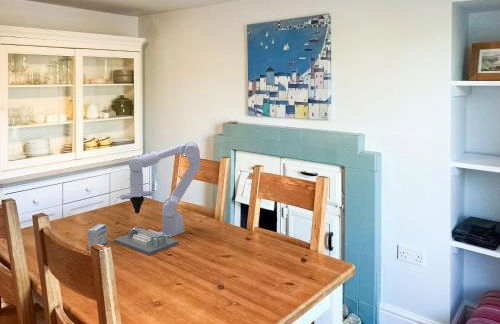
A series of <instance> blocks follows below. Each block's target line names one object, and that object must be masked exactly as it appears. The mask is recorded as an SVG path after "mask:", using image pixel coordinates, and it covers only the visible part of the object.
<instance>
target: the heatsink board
mask: <svg viewBox="0 0 500 324" xmlns="http://www.w3.org/2000/svg"><path fill="white" fill-rule="evenodd" d="M137 227H139V228H141V229H143V225H140V224H139V225H137ZM147 231H150V232H153V233H156V234H159V235H163V234H162V233H159V232H160V231H155V230H153V229H147ZM127 232H128V233H127V234H124V235H122V236H117V237H115V238H113V243H115V244H117V245H120V246H123V247H125V248H127V249H130V250H133V251H137V252H138V253H142V254H144V255H147V256H152V255H155V254H157V253H160V252H162V251H165V250H168V249H170V248H172V247H174V246H178V245H179V243H180V242H179V240H176V239H174V238H171V237H168V236H167V235H163V237H162V238H159V239H157V238H153V237H150V236H147V235H144V234H141V233H139V232H136V231H133V229H132V228H128V231H127Z"/></svg>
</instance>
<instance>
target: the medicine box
mask: <svg viewBox="0 0 500 324" xmlns="http://www.w3.org/2000/svg"><path fill="white" fill-rule="evenodd" d="M86 232H87V244H88V249H89V250H91V249H90V246H91V245H94V244H102V245H104V246H106V245H107V244H108V229H107V224H104V223H103V224H102V223H99V224H95V225H94V226H92V227H91V228H89V229H87V231H86Z"/></svg>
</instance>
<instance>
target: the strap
mask: <svg viewBox="0 0 500 324" xmlns="http://www.w3.org/2000/svg"><path fill="white" fill-rule="evenodd" d="M131 229H133V231H136V232H139V233H141V234H144V235H147V236H150V237H153V238H157V239H159V238H162V237H163V235H159V234H156V233H153V232H150V231H148V229H144V228H142V229H141V228H139V227H138V226H136V227H133V228H131Z"/></svg>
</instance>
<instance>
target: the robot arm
mask: <svg viewBox="0 0 500 324" xmlns="http://www.w3.org/2000/svg"><path fill="white" fill-rule="evenodd" d="M176 155H178V156H183V157H184V156H185V157H186V158H187V160H188V163H189V165H188V167H187V169H186V170H185V172H184V174H183V175H182V176H181V179H180V180H179V182H178V184H177V185H176V186H175V188H174V190H173V191H172V193H171V194H170V196H169V197H168V198H167V199H165V200H164V201H163V204H162V205H163V206H162V208H161V212H162V214H161V222H162V223H161V225H162V226H161V227H162V230H161V231H158V232H159V233H162V234H163V235H167V237H168V238H171V237H174V236H177V235H179V234H183V233H185V231H186V230H184V217H183V215H182V214H181V213H180V212H178V211H177V208H178V206H179V203H180V201H181V199H182V198H183V197H184V194H185V193H186V191H187V190H188V188H189V186H190V185H191V183H192V181H193V180H194V178H195V177H196V175H197V173H198V172H199V170H200V169H201V150H200V148H199V146H198V144H197V143H196V142H194V141H189V142H187V143H186V142H185V143H181V144H176V145H174V146H172V147H168V148H166V149H164V150H161V151H158V152H157V151H154V150H149V151H147V153H144V154H138V156H134V157H132V158H131V160H130V161H129V163H128V167H129V192H128V193H123V194H120V196H119V197H120V200H121V201H123V200H124V201H125V200H129V201H130V203H131V204H132V207H133V209H134V211H133V212H134V213H135V215H137V214H140V212H141V208H142V205H143V203H144V201H145V198H144V197H149V196H150V197H152V196H154V195H153V191H151V190H148V191H146V190H145V191H144V173H143V168H148V167H151V166H154V165H157V164H159V162H160V160H162V159H166V158H168V157H171V156H172V157H173V156H176Z"/></svg>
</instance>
